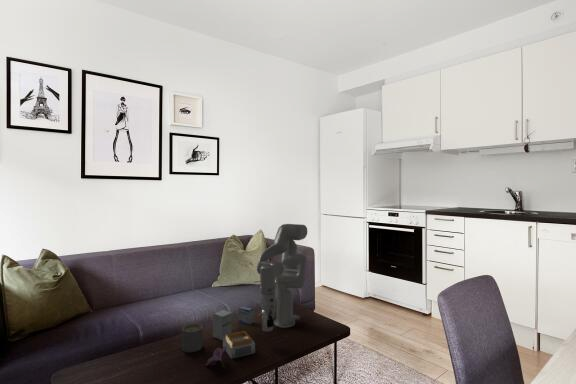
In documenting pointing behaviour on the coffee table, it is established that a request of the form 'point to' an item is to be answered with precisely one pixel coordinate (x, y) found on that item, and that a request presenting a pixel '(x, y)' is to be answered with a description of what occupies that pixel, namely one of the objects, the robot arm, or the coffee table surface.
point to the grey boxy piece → (238, 344)
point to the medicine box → (245, 315)
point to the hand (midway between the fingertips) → (267, 324)
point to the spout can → (265, 321)
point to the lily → (217, 355)
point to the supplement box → (222, 324)
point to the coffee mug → (192, 337)
